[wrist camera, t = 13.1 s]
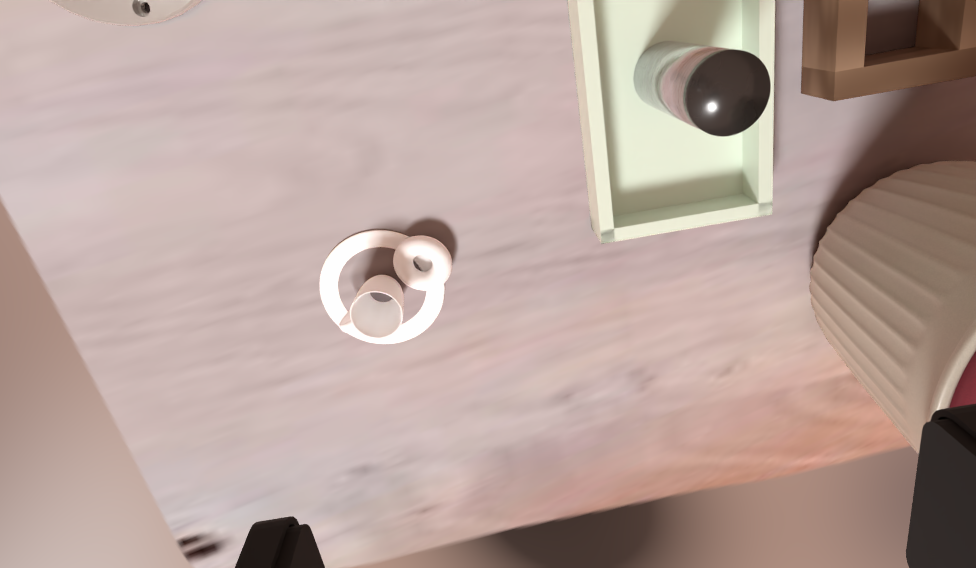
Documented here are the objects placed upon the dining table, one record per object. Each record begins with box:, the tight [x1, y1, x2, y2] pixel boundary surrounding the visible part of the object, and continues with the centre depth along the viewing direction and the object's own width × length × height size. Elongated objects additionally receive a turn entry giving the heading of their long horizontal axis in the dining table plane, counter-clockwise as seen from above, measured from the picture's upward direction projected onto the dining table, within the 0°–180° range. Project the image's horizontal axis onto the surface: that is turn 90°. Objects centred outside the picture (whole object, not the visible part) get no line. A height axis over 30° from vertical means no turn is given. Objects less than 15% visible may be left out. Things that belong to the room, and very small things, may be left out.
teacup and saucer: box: [320, 230, 452, 344], centre depth 39 cm, size 9×8×4 cm
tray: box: [567, 0, 775, 244], centre depth 35 cm, size 17×10×3 cm, turn 9°
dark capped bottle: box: [633, 41, 771, 137], centre depth 31 cm, size 4×4×9 cm
